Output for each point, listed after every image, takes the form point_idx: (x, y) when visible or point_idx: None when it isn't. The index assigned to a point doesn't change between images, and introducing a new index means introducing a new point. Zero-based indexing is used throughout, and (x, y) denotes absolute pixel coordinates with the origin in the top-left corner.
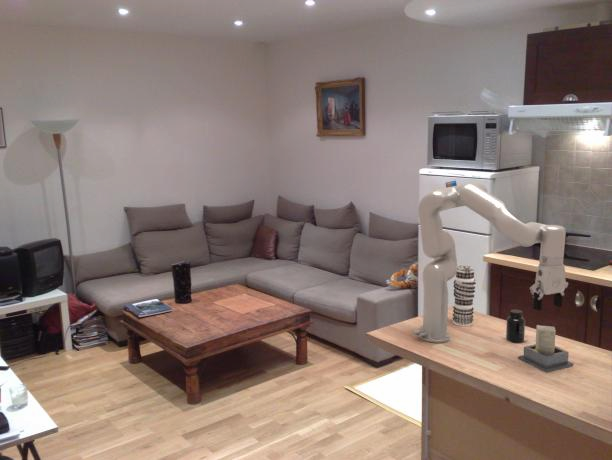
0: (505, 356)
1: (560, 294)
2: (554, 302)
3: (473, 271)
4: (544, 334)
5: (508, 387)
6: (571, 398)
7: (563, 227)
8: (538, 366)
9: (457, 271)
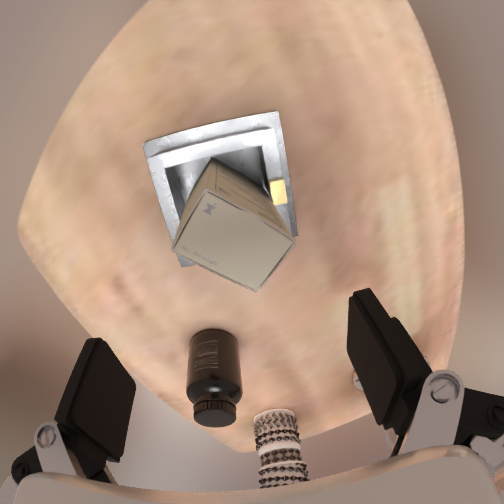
0: (318, 256)
1: (71, 446)
2: (129, 396)
3: None
4: (258, 209)
5: (433, 81)
6: None
7: None
8: (284, 146)
9: None
